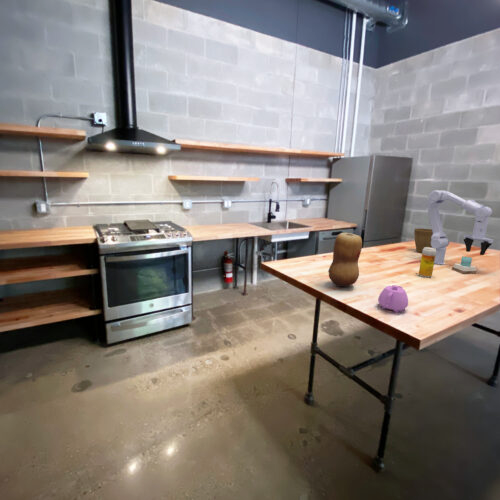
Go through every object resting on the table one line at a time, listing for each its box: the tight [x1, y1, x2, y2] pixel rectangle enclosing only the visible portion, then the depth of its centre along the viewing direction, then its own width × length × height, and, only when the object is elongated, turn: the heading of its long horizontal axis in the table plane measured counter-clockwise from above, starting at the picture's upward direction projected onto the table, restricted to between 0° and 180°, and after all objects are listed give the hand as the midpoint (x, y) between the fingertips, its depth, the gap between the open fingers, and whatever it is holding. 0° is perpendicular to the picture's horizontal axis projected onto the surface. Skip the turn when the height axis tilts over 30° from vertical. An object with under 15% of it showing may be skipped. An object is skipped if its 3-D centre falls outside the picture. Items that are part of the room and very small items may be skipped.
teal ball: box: [459, 256, 473, 267], centre depth 164 cm, size 5×5×5 cm
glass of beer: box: [418, 247, 436, 278], centre depth 155 cm, size 6×6×15 cm
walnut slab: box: [451, 266, 477, 275], centre depth 166 cm, size 8×8×2 cm
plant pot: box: [413, 228, 433, 254], centre depth 207 cm, size 15×15×16 cm
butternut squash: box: [327, 232, 363, 288], centre depth 137 cm, size 14×13×25 cm
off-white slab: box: [453, 263, 477, 271], centre depth 165 cm, size 7×7×2 cm
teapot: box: [377, 284, 409, 314], centre depth 116 cm, size 10×15×9 cm
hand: (474, 253), depth 165 cm, fingers open, 7 cm apart
